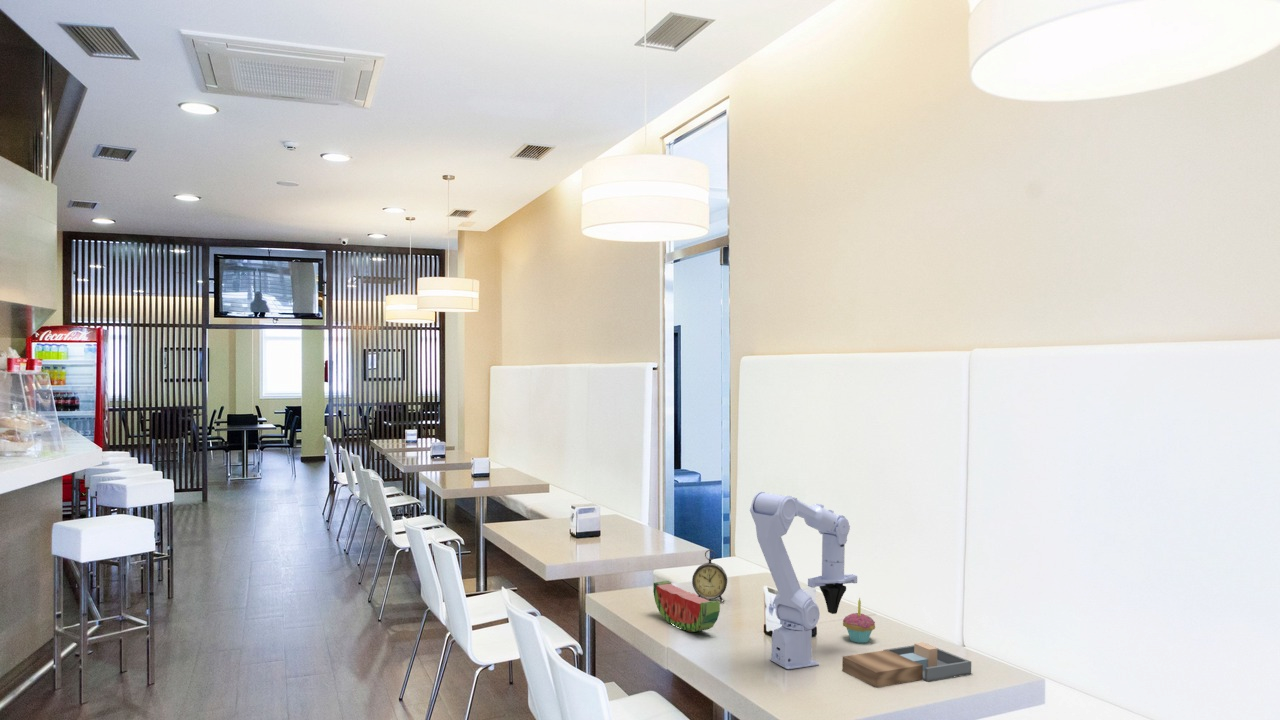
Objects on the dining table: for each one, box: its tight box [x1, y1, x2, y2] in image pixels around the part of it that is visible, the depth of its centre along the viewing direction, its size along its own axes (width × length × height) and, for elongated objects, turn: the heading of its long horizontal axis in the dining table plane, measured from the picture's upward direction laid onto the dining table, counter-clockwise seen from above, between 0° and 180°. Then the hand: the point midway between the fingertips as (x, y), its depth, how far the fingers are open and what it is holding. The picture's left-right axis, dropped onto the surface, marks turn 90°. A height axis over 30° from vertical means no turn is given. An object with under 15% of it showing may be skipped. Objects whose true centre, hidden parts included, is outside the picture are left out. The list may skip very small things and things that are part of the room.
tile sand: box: [913, 642, 938, 667], centre depth 203 cm, size 5×5×3 cm
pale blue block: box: [901, 653, 928, 670], centre depth 202 cm, size 5×5×3 cm
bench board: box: [841, 649, 923, 688], centre depth 198 cm, size 14×12×3 cm
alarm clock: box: [691, 549, 728, 601], centre depth 263 cm, size 11×5×16 cm, turn 81°
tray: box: [884, 644, 972, 682], centre depth 203 cm, size 14×15×3 cm
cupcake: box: [842, 597, 876, 644], centre depth 225 cm, size 9×8×12 cm
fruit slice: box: [652, 580, 721, 633], centre depth 234 cm, size 26×6×10 cm, turn 31°
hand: (832, 612), depth 215 cm, fingers closed
